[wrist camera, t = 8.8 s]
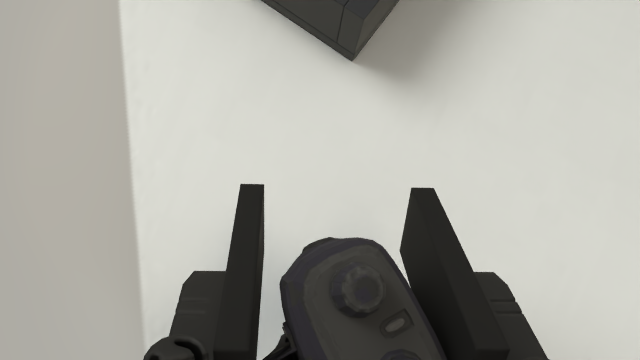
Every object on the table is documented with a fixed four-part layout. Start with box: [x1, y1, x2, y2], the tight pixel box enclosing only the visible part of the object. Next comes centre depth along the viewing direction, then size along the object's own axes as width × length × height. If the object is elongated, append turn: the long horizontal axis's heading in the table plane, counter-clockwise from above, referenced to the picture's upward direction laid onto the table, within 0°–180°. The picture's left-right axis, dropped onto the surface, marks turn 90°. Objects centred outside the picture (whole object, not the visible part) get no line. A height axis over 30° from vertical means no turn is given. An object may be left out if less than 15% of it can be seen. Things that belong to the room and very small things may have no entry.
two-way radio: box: [263, 237, 447, 360], centre depth 13 cm, size 6×4×15 cm
